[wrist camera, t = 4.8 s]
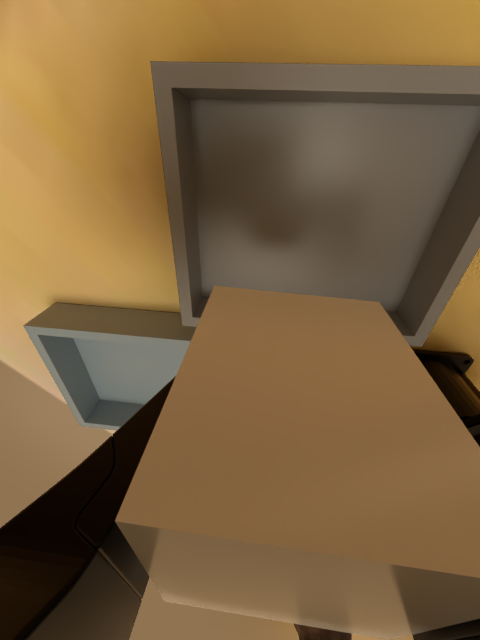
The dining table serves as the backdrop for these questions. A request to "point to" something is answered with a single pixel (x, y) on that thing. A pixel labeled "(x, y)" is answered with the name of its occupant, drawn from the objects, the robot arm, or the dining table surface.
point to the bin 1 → (109, 357)
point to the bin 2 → (322, 181)
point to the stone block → (309, 473)
